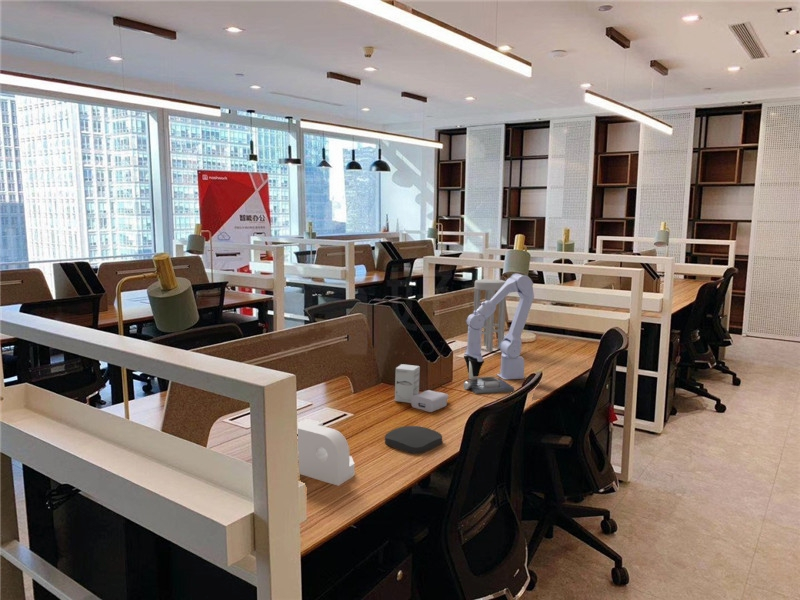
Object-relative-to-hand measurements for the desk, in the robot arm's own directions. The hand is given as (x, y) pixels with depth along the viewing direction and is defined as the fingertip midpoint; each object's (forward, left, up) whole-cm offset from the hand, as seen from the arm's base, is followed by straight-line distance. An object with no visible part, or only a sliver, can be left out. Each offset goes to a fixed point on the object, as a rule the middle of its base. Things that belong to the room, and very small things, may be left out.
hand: (473, 374), depth 251 cm
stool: (-29, -52, -2) cm, 60 cm away
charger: (+27, +29, -2) cm, 40 cm away
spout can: (0, 0, -2) cm, 2 cm away
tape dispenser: (+73, +76, -2) cm, 105 cm away
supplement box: (+35, +22, -2) cm, 41 cm away
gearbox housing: (-1, +14, -2) cm, 14 cm away
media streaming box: (+44, +62, -2) cm, 76 cm away
